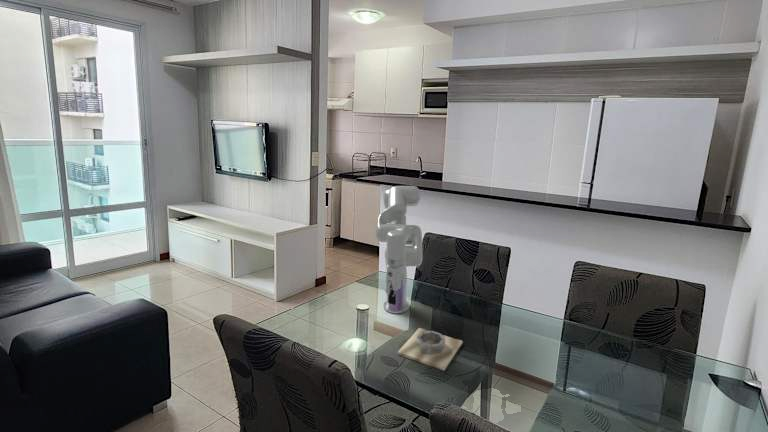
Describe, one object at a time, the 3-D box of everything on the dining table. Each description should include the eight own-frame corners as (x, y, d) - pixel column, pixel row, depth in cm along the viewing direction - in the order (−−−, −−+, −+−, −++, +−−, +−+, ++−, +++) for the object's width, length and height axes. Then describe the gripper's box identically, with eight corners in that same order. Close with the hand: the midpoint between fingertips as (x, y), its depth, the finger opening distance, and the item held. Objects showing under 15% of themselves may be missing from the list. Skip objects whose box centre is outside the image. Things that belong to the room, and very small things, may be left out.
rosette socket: (397, 354, 166) (397, 343, 165) (419, 330, 183) (419, 320, 181) (444, 370, 156) (444, 359, 155) (462, 343, 173) (463, 333, 172)
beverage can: (403, 313, 171) (403, 280, 166) (388, 313, 171) (388, 280, 166) (402, 305, 177) (403, 274, 172) (388, 305, 177) (388, 273, 172)
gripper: (393, 271, 158) (393, 312, 164) (413, 254, 172) (413, 293, 178) (377, 266, 161) (377, 307, 167) (397, 251, 175) (397, 289, 181)
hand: (395, 299), depth 172 cm, fingers closed on beverage can, 5 cm apart
